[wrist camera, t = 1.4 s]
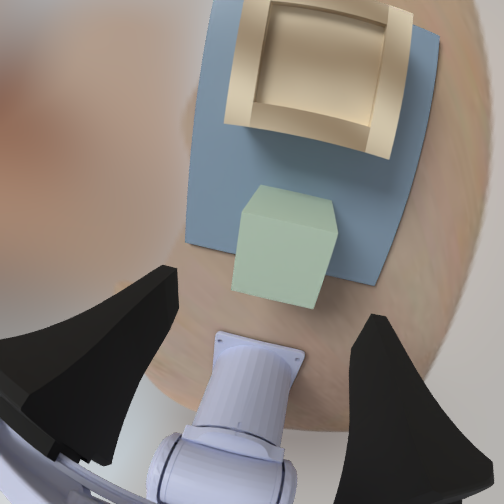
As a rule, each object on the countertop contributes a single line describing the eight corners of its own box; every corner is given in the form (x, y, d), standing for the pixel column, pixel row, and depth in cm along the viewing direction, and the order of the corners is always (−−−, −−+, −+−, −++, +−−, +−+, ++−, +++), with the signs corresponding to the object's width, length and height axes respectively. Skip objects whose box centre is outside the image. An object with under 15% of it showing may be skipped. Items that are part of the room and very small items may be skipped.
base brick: (373, 149, 15) (389, 159, 12) (241, 120, 16) (223, 123, 13) (394, 30, 11) (413, 13, 8) (261, 3, 12) (248, -20, 9)
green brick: (314, 262, 19) (313, 309, 15) (250, 247, 19) (230, 290, 15) (331, 200, 17) (338, 233, 12) (260, 184, 17) (241, 211, 13)
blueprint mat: (373, 282, 19) (374, 285, 19) (187, 239, 21) (185, 242, 20) (437, 37, 10) (439, 36, 10) (217, -8, 12) (215, -10, 11)
